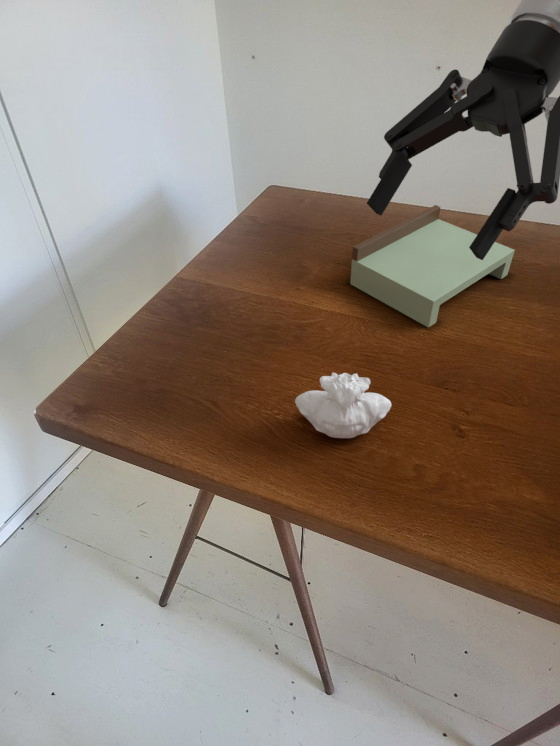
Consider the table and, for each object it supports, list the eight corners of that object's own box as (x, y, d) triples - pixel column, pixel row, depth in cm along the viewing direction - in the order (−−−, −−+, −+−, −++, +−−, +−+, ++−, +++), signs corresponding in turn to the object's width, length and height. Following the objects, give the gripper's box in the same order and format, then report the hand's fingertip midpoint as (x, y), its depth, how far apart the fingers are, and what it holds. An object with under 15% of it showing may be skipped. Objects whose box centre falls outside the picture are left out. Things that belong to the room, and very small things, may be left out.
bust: (295, 437, 69) (289, 433, 58) (297, 380, 70) (292, 366, 59) (386, 441, 68) (398, 438, 57) (387, 384, 69) (399, 370, 58)
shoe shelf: (507, 275, 91) (519, 236, 86) (428, 327, 81) (436, 288, 76) (429, 240, 101) (435, 204, 96) (350, 284, 91) (352, 246, 86)
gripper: (671, 90, 48) (534, 289, 52) (447, 50, 62) (352, 208, 66) (674, 32, 42) (520, 262, 46) (426, 2, 56) (323, 179, 60)
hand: (421, 230), depth 56 cm, fingers open, 13 cm apart
